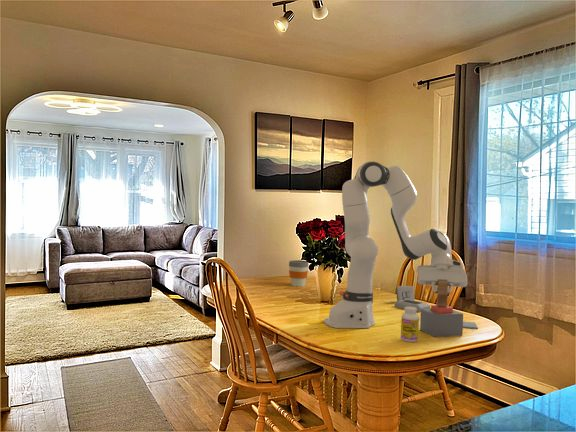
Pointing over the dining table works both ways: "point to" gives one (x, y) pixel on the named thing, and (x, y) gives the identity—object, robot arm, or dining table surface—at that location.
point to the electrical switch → (405, 293)
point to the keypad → (411, 304)
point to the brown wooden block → (442, 293)
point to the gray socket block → (441, 323)
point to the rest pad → (470, 325)
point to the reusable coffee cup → (298, 272)
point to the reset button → (441, 309)
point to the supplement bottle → (409, 325)
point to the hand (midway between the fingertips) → (442, 292)
